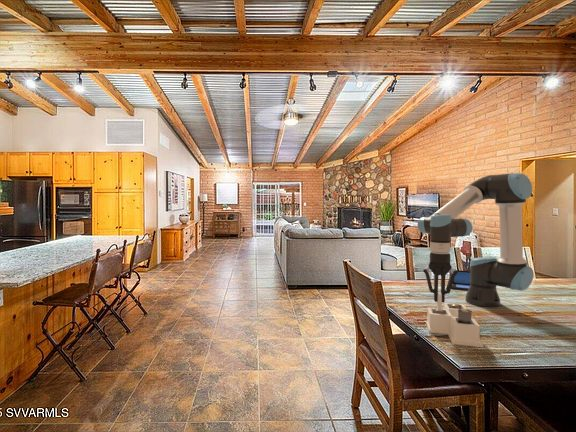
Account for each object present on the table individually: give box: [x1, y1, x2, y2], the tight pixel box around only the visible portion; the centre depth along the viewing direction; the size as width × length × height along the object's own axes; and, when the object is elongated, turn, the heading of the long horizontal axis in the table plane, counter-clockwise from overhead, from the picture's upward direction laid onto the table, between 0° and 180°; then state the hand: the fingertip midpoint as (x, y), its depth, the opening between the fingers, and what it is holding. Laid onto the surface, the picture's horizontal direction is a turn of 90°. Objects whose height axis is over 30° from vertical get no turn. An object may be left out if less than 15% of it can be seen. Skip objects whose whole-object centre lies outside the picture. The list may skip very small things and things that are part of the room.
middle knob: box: [433, 308, 445, 314], centre depth 129 cm, size 4×4×6 cm
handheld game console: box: [449, 269, 470, 292], centre depth 189 cm, size 16×13×9 cm
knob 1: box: [450, 303, 461, 309], centre depth 135 cm, size 4×4×6 cm
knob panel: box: [425, 302, 484, 348], centre depth 128 cm, size 17×27×7 cm, turn 163°
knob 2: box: [458, 308, 473, 324], centre depth 119 cm, size 4×4×6 cm
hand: (439, 309), depth 129 cm, fingers closed
